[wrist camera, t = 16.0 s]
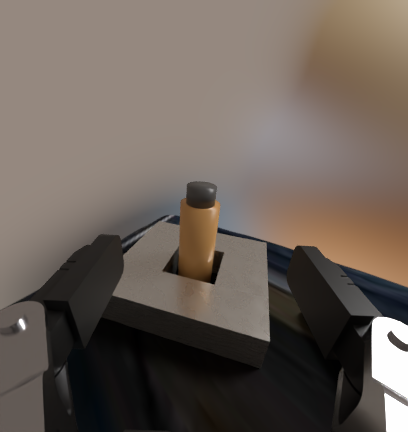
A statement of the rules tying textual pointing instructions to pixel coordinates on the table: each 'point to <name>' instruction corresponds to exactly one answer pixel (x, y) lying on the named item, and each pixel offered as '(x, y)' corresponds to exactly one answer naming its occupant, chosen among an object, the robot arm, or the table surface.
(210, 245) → the plug
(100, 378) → the table surface
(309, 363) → the table surface
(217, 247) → the grey square-holed plate
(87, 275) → the robot arm
